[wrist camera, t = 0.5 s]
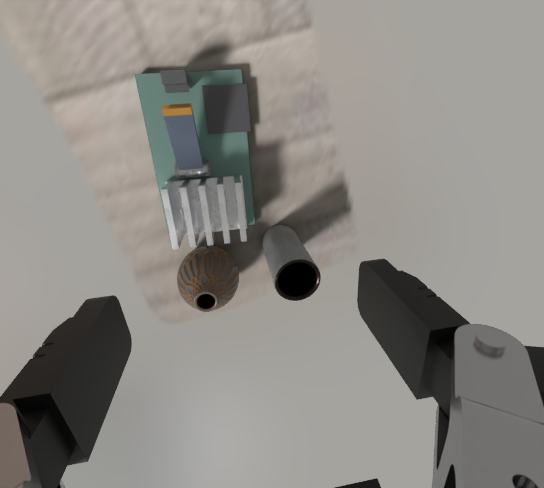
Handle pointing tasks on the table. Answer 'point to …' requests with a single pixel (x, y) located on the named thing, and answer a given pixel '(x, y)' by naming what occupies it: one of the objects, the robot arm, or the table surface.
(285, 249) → the planter
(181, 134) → the blue-grey flat piece
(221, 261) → the vase
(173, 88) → the block
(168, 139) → the board
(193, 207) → the heatsink
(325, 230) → the table surface
